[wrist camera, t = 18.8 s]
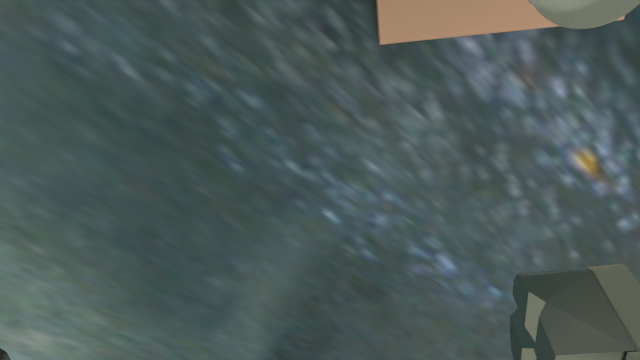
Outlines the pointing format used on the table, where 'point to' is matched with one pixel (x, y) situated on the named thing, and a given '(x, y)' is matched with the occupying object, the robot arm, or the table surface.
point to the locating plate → (453, 18)
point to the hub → (583, 11)
